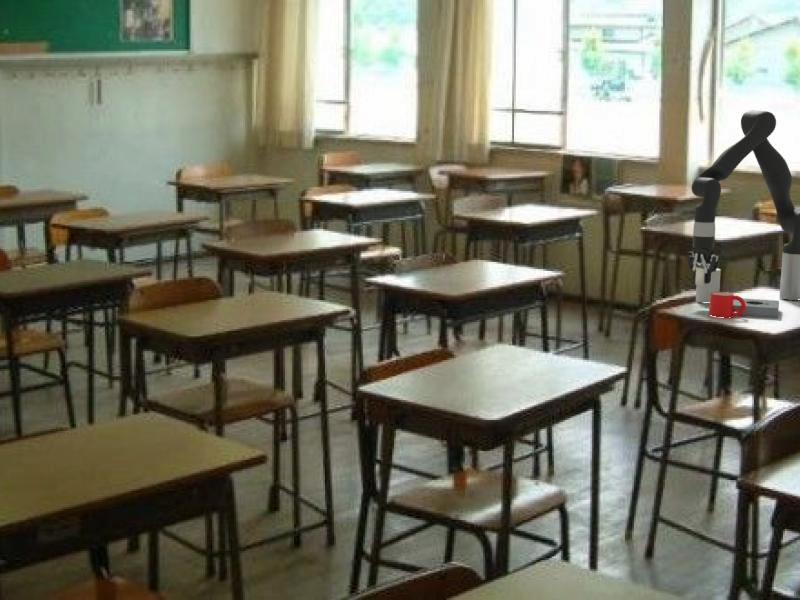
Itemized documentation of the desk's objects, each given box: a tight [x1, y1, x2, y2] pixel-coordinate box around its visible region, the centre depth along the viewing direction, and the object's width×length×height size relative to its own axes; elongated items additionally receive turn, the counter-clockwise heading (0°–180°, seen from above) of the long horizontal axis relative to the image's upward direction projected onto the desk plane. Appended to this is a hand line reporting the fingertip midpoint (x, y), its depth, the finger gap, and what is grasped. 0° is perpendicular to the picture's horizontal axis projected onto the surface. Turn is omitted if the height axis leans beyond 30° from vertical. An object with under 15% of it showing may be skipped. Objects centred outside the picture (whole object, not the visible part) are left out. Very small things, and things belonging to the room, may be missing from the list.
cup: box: [695, 267, 722, 303], centre depth 475 cm, size 8×8×12 cm
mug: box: [708, 291, 746, 319], centre depth 447 cm, size 8×12×8 cm, turn 73°
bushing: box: [694, 266, 708, 286], centre depth 463 cm, size 4×4×6 cm
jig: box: [733, 297, 780, 319], centre depth 455 cm, size 16×16×4 cm
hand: (701, 282), depth 463 cm, fingers closed on bushing, 4 cm apart
